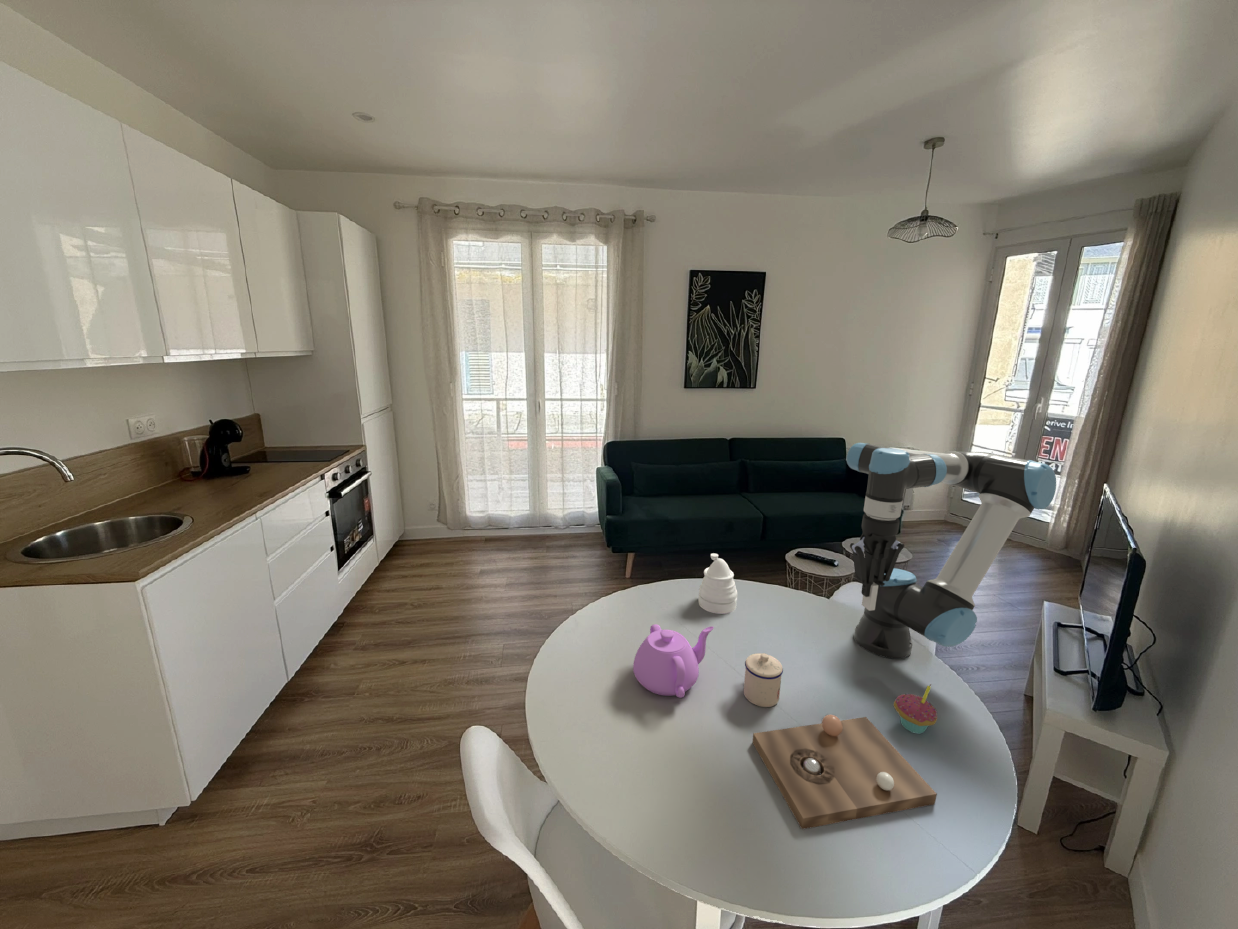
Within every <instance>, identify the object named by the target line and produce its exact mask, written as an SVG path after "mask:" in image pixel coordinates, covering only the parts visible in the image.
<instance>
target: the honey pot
mask: <svg viewBox="0 0 1238 929" xmlns="http://www.w3.org/2000/svg"><path fill="white" fill-rule="evenodd" d="M710 558H711V560H713V562H712V563H711V564H710V566H709V567H706V568H705V569H704V570H703V574H704V577H703V578H702V581H701V584H700V585H699V589H698V590H699V591H698V600H697V601H698V605H699V606H700V607H701V609H703V610H704V611H707V612H709V613H713V614H719V615H720V614H723V615H724V614H729V613H733V612H734V611H735V610H736V609H737V603H738V590H737V587H736V582H735V579H734V576H735V574H734V571H732V570H731V569H730V567H729V565H728V563H727V562H726V561H725V560H724V559H723V558H720V557H719V554H718V553H714V552H713V553H710Z"/></svg>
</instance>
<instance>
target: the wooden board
mask: <svg viewBox="0 0 1238 929" xmlns="http://www.w3.org/2000/svg"><path fill="white" fill-rule="evenodd" d="M840 721H841V723H842V726H843V729H842V732H841V734H839V735H838V736H830V735H828V734H827V733H826V732H825V731H824V729H823V727H822V722H821V723H815V724H809V725H801V726H794V727H789V728H788V727H787V728H781V729H775V730H767V731H766V730H765V731H759V732H753V735H752V744H753V746H754V748H755V750H756V752H757V753H758V755H759V757H760V758H761V761H762V762H763V764H764V765H765V767H766V769H767V771H768V773H769V774H770V776H771V777H772V780H773V781H774V782H775V785H776V786H777V788H778V790H779V791H780V793H781V795H782V797H783V798H784V800H785V802H786V804H787V806H788V808H789V809H790V811H791V812H792V816H794V819H795V820H796V822H797V823H798V825H799V827H800V828H801V830H805V829H812V828H815V827H822V826H827V825H833V824H837V823H838V824H839V823H843V822H844V823H845V822H848V821H853V820H859V819H864V818H868V817H869V818H870V817H874V816H875V817H876V816H880V815H886V814H891V813H896V812H900V811H901V812H902V811H907V810H912V809H917V808H923V807H927V806H934V805H936V799H937V792H936V791H935V790H934V789H933V788H932V787H931V786H930V785H929V783H927V782H926V780H925V779H923V777H922V776H921V775H920V774H919V773H918V772H917V771H916V769H914V767H913V766H912V765H911V764H910V763H909V762H908V761H907V760H906V759H905V758H904V756H903V755H902V754H901V753H900V752H899V751H898V750H897V749H896V748H895V747H894V746H893V744H892V743H891V742H890V741H889V740H888V739H887V738H886V736H884V735H883V733H881V731H880V730H879V729H878V728H877V727H876V726H875V725H874V724H873V723H872V722H871V720H869V718H867V716H863V717H855V718H850V719H849V718H848V719H840ZM807 758H813V759H815V760H816V761H817V762H818V763H819V764H820V767H821V773H820V775H816V776H815V775H812V774H809V773H807V772H806V771H805V770H803V762H804V760H805V759H807ZM880 772H886V773H888V774H889V775H890V776H891V777H892V778H893V780H894V787H893V788H892V789H891V790H888V791H887V790H883V789H882V788H881V787H880V786H879V785H878V783H877V780H876V778H877V775H878V774H879V773H880Z"/></svg>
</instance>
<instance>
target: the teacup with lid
mask: <svg viewBox="0 0 1238 929" xmlns="http://www.w3.org/2000/svg"><path fill="white" fill-rule="evenodd" d="M744 666H745V670H744V684H743V695H744V696H745V699H747V701H749V702H750V703H752V704H753V705H755V706H757V707H761V708H770V707H771V708H772V707H774V706H776V705H777V704H778V703H779V701H780V694H781V693H780V692H781V685H782V684H781V683H782V676H783V673H784V668H783V665H782V663H781V661H780V660H778V659H777V658H776V657H774V656H772V655H770V654H767V653H753V654H749V656H747V657H746V659H745V661H744Z"/></svg>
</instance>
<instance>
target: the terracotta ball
mask: <svg viewBox="0 0 1238 929" xmlns="http://www.w3.org/2000/svg"><path fill="white" fill-rule="evenodd" d="M821 723H822V727H823V729H824V731H825V732H826V733H827V734H828V735H830V736H838V735H839V734H841V732H842V729H843V726H842V723H841V719H840V718H839V717H837V716H836V715H834V714H826V715H825V716H824V717H823V718H822V720H821Z"/></svg>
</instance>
